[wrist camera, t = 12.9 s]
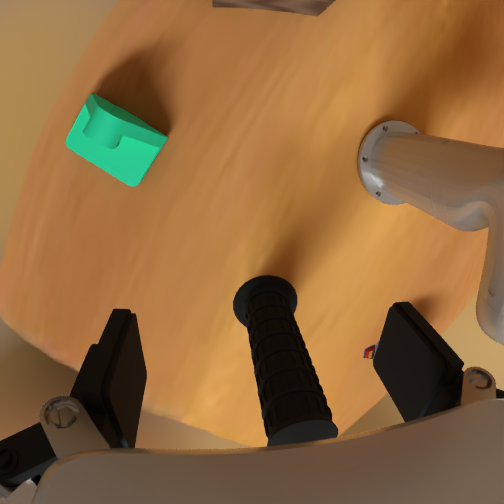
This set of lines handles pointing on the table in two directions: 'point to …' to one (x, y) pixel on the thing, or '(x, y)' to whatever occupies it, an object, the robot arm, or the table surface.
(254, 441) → the table surface
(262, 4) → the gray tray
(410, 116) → the table surface
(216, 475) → the robot arm
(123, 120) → the camera mount
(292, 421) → the handle grip
